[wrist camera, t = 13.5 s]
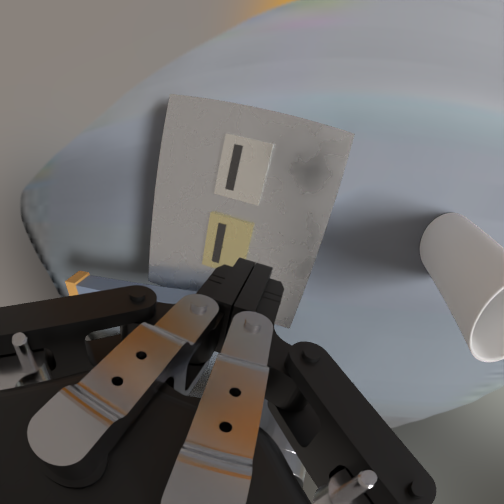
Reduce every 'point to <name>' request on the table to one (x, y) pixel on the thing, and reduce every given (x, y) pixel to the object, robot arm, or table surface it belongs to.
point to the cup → (468, 280)
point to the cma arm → (89, 283)
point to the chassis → (242, 194)
